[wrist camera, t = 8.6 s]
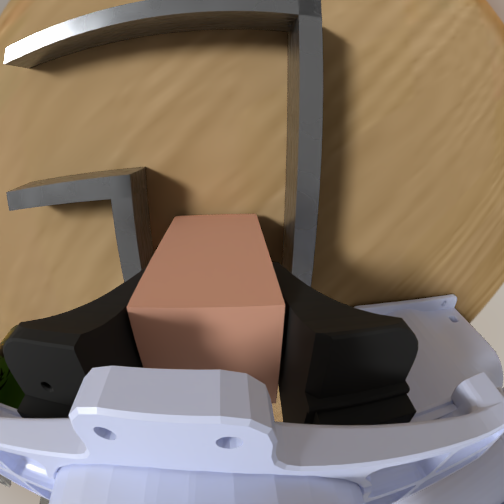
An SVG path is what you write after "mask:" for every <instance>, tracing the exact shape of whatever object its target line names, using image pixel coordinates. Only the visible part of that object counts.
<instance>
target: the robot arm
mask: <svg viewBox="0 0 504 504" xmlns="http://www.w3.org/2000/svg"><path fill="white" fill-rule="evenodd" d="M272 264H273V268H274V271H275V274H276V277H277V280H278V283H279V287H280V290H281V293H282V296H283V299H284V302H285V314H284V326H283V338H282V349H281V359H280V370H279V379H278V385H279V392H280V400H281V407H282V415H283V422H275V421H274V416H273V410H272V403H271V398H270V395H269V393H268V390H267V388H266V385H265V384H264V383H262V382H260V381H259V380H257V379H255V378H254V377H252V376H250V375H249V374H247V373H241V372H234V371H228V370H221V369H213V370H192V369H157V368H143V365H142V362H141V358H140V355H139V352H138V348H137V345H136V342H135V338H134V334H133V331H132V327H131V323H130V319H129V316H128V312H127V305H128V303H129V301H130V299H131V297H132V295H133V293H134V291H135V289H136V287H137V285H138V283H139V281H140V279H141V277H142V275H143V273H144V272H145V270H146V268H147V267H146V268H145V269H143V270H142V271H140V272H139V273H137V274H136V275H134V276H133V277H132V278H130V279H129V280H127V281H126V282H124V283H123V284H121V285H120V286H118V287H117V288H115V289H113V290H112V291H110V292H109V293H107V294H105V295H104V296H102V297H100V298H98V299H96V300H94V301H92V302H90V303H88V304H86V305H83V306H81V307H78V308H76V309H73V310H71V311H68V312H65V313H62V314H58V315H55V316H51V317H47V318H43V319H38V320H32V321H27V322H21V323H19V325H18V326H17V327H16V329H15V330H14V331H13V332H12V334H11V335H10V336H9V338H8V339H7V340H6V342H5V343H4V345H3V353H4V358H5V361H6V363H7V365H8V368H9V369H10V371H11V373H12V375H13V376H14V378H15V379H16V381H17V383H18V384H19V386H20V387H21V389H22V390H23V392H24V393H25V396H24V398H23V400H22V402H21V404H20V406H19V408H18V409H15V408H13V407H10V406H7V405H4V404H2V403H0V474H1V475H2V476H4V477H6V478H7V479H9V480H11V481H13V482H15V483H16V484H18V485H20V486H22V487H24V488H26V489H28V490H30V491H31V492H33V493H35V494H37V495H39V496H41V497H44V498H46V499H48V500H50V501H49V504H504V388H502V385H503V371H502V366H501V363H500V360H499V357H498V355H497V354H496V352H495V350H494V349H493V348H492V347H491V346H490V345H489V344H488V342H487V341H486V340H485V339H484V338H483V337H482V336H481V335H480V334H479V333H478V332H477V331H476V330H475V329H474V328H473V326H472V325H471V324H470V323H469V322H468V321H467V320H466V319H465V318H464V317H463V316H462V315H461V314H460V313H459V312H458V311H457V310H456V309H455V308H454V307H455V304H456V302H457V297H456V296H455V295H454V294H450V295H444V296H437V297H430V298H422V299H414V300H406V301H398V302H389V303H380V304H370V305H360V306H355V307H351V306H348V305H346V304H343V303H340V302H338V301H336V300H333V299H331V298H329V297H327V296H325V295H323V294H321V293H320V292H318V291H316V290H315V289H313V288H311V287H310V286H308V285H307V284H305V283H304V282H302V281H301V280H300V279H298V278H297V277H296V276H294V275H293V274H292V273H291V272H289V271H288V270H287V269H286V268H284V267H283V266H282V265H281V264H279V263H278V262H272Z"/></svg>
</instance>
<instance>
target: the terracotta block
mask: <svg viewBox="0 0 504 504" xmlns="http://www.w3.org/2000/svg"><path fill="white" fill-rule="evenodd" d="M127 312H128V316H129V319H130V323H131V327H132V331H133V334H134V338H135V342H136V345H137V348H138V352H139V355H140V358H141V362H142V365H143V368H157V369H192V370H213V369H221V370H228V371H234V372H241V373H247V374H249V375H250V376H252V377H254V378H255V379H257V380H259V381H260V382H262V383H264V384H265V385H266V388H267V390H268V393H269V395H270V398H271V403H276V398H277V389H278V379H279V370H280V359H281V349H282V338H283V326H284V314H285V302H284V299H283V296H282V293H281V290H280V287H279V283H278V280H277V277H276V274H275V271H274V268H273V264H272V261H271V258H270V255H269V252H268V249H267V246H266V243H265V239H264V236H263V233H262V230H261V227H260V224H259V221H258V218H257V215H256V214H222V215H188V216H175V217H174V219H173V221H172V223H171V224H170V226H169V228H168V230H167V231H166V233H165V235H164V237H163V238H162V240H161V242H160V244H159V246H158V247H157V249H156V251H155V253H154V255H153V257H152V258H151V260H150V262H149V264H148V266H147V268H146V270H145V272H144V273H143V275H142V277H141V279H140V281H139V283H138V285H137V287H136V289H135V291H134V293H133V295H132V297H131V299H130V301H129V303H128V305H127Z"/></svg>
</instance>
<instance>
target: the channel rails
mask: <svg viewBox="0 0 504 504" xmlns="http://www.w3.org/2000/svg"><path fill="white" fill-rule="evenodd" d="M216 29H254V30H274V31H287V32H288V105H287V156H286V188H285V214H284V236H283V255H282V266H283V267H284V268H286V269H287V270H288V271H289V272H291V273H292V274H293V275H294V276H296V277H297V278H298V279H300V280H301V281H302V282H304V283H305V284H307V285H308V286H310V287H311V280H312V271H313V262H314V252H315V241H316V230H317V218H318V205H319V190H320V173H321V153H322V124H323V40H322V14H321V0H145V1H140V2H135V3H130V4H125V5H121V6H116V7H112V8H108V9H104V10H101V11H97V12H94V13H90V14H87V15H84V16H80V17H77V18H74V19H71V20H69V21H66V22H63V23H60V24H58V25H55V26H52V27H50V28H47V29H45V30H42V31H40V32H38V33H35V34H33V35H31V36H29V37H27V38H24V39H22V40H20V41H18V42H16V43H14V44H12V45H10V46H8V47H6V52H5V59H4V64H6V65H12V66H18V67H24V68H31V67H34V66H36V65H39V64H42V63H44V62H47V61H50V60H53V59H56V58H58V57H61V56H65V55H68V54H71V53H74V52H77V51H81V50H84V49H88V48H92V47H96V46H100V45H104V44H108V43H112V42H117V41H122V40H127V39H132V38H138V37H144V36H150V35H157V34H165V33H173V32H183V31H196V30H216ZM6 193H7V200H8V206H9V211H11V210H18V209H25V208H32V207H40V206H48V205H56V204H65V203H74V202H84V201H94V200H105V199H111V203H112V211H113V219H114V226H115V233H116V239H117V245H118V251H119V257H120V262H121V268H122V273H123V278H124V282H126V281H127V280H129V279H130V278H132V277H133V276H134V275H136V274H137V273H139V272H140V271H142V270H143V269H145V268H146V267H147V266H148V264H149V262H150V260H151V258H152V257H153V255H154V252H153V244H152V236H151V227H150V217H149V207H148V196H147V183H146V168H145V167H138V168H127V169H117V170H108V171H100V172H92V173H84V174H77V175H70V176H64V177H57V178H51V179H46V180H40V181H34V182H30V183H28V184H25V185H23V186H20V187H18V188H15V189H13V190H11V191H8V192H6Z"/></svg>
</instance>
